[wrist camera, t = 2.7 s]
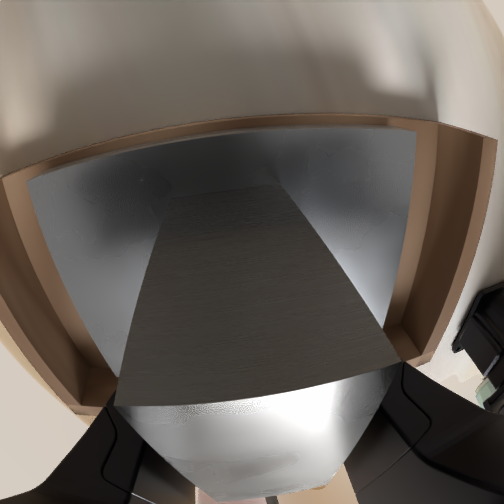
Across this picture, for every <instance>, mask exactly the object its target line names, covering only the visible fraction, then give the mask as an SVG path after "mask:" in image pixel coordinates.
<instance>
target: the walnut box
mask: <svg viewBox="0 0 504 504" xmlns="http://www.w3.org/2000/svg"><path fill="white" fill-rule="evenodd" d="M295 124H369V125H388V126H398V127H401V128H405V129H409V130H412V131H416V132H417V133H416V151H415V164H414V175H413V184H412V193H411V200H410V208H409V214H408V221H407V227H406V233H405V238H404V243H403V249H402V254H401V258H400V263H399V268H398V272H397V276H396V281H395V285H394V289H393V293H392V296H391V300H390V304H389V308H388V311H387V315H386V318H385V321H384V325H383V328H382V330H383V331H384V333H385V334H386V336H387V338H388V339H389V341H390V342H391V344H392V346H393V347H394V349H395V351H396V352H397V354H398V356H399V357H400V358H401V359H403V362H404V361H406V362H407V363H409V364H410V365H411V366H413V367H414V368H415V367H418V366H420V365H423V364H425V363H428V362H430V360H431V358H432V356H433V354H434V352H435V350H436V349H437V347H438V345H439V343H440V341H441V339H442V337H443V334H444V332H445V330H446V328H447V326H448V324H449V322H450V319H451V317H452V315H453V313H454V310H455V308H456V305H457V303H458V301H459V298H460V296H461V293H462V290H463V288H464V285H465V282H466V280H467V277H468V274H469V271H470V268H471V265H472V262H473V259H474V256H475V253H476V250H477V246H478V243H479V239H480V236H481V232H482V228H483V224H484V220H485V216H486V212H487V207H488V202H489V197H490V192H491V187H492V181H493V175H494V168H495V160H496V152H497V142H498V140H496V139H493V138H490V137H487V136H484V135H481V134H478V133H475V132H472V131H469V130H466V129H462V128H459V127H456V126H452V125H448V124H445V123H441V122H436V121H429V120H421V119H413V118H404V117H394V116H382V115H366V114H340V113H303V114H277V115H261V116H248V117H237V118H228V119H219V120H211V121H204V122H197V123H190V124H184V125H178V126H172V127H167V128H161V129H156V130H151V131H146V132H142V133H137V134H133V135H128V136H124V137H120V138H116V139H112V140H108V141H104V142H100V143H97V144H93V145H90V146H86V147H83V148H80V149H76V150H73V151H70V152H67V153H64V154H61V155H58V156H55V157H52V158H49V159H46V160H43V161H41V162H38V163H35V164H33V165H30V166H28V167H25V168H22V169H20V170H18V171H15V172H13V173H10V174H8V175H6V176H3V177H1V178H0V320H1V322H2V323H3V325H4V326H5V328H6V330H7V331H8V333H9V334H10V336H11V337H12V339H13V340H14V341H15V343H16V344H17V346H18V347H19V348H20V350H21V351H22V353H23V354H24V355H25V357H26V358H27V359H28V361H29V362H30V363H31V364H32V366H33V367H34V368H35V370H36V371H37V372H38V373H39V374H40V376H41V377H42V378H43V379H44V380H45V382H46V383H47V384H48V385H49V386H50V387H51V389H52V390H53V391H54V392H55V393H56V394H57V395H58V396H59V397H60V399H61V400H62V401H63V402H64V403H65V404H66V405H67V406H68V407H69V408H70V409H71V410H72V411H73V412H74V413H75V414H79V415H89V416H98V414H99V413H100V411H101V410H102V408H103V407H106V406H105V404H106V403H107V401H108V400H109V398H110V397H111V395H112V394H113V392H114V391H115V390H116V388H117V384H118V379H119V377H116V375H115V374H114V372H113V371H112V369H111V368H110V366H109V365H108V363H107V362H106V360H105V359H104V357H103V355H102V354H101V352H100V351H99V349H98V347H97V346H96V344H95V342H94V341H93V339H92V337H91V336H90V334H89V332H88V330H87V329H86V327H85V325H84V323H83V321H82V319H81V318H80V316H79V314H78V312H77V310H76V308H75V306H74V304H73V302H72V300H71V298H70V296H69V294H68V292H67V290H66V288H65V286H64V284H63V282H62V279H61V277H60V275H59V273H58V270H57V268H56V266H55V263H54V261H53V259H52V256H51V254H50V251H49V249H48V246H47V244H46V241H45V238H44V236H43V233H42V230H41V227H40V225H39V222H38V219H37V216H36V213H35V210H34V206H33V203H32V200H31V197H30V193H29V190H28V186H27V182H26V181H27V180H29V179H31V178H32V177H34V176H36V175H37V174H39V173H41V172H42V171H44V170H47V169H50V168H53V167H56V166H59V165H62V164H65V163H69V162H72V161H75V160H79V159H82V158H86V157H89V156H93V155H96V154H100V153H104V152H108V151H112V150H116V149H120V148H124V147H129V146H133V145H138V144H142V143H147V142H152V141H157V140H163V139H168V138H174V137H179V136H186V135H192V134H199V133H206V132H213V131H221V130H230V129H239V128H250V127H261V126H276V125H295Z"/></svg>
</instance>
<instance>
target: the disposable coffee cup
mask: <svg viewBox="0 0 504 504" xmlns="http://www.w3.org/2000/svg"><path fill="white" fill-rule="evenodd" d="M495 391H496V390H495V388H494V387H493V385H492V384H491V382H490V381H489V379H488V378H486V379H485V380H484V381H483V382H482V383H481V384H480V385H479V386H478V388H477V389H476V391H475V392H476V394H477V395H476V398H477V400H478V403H479V405H480V407H481V408H483V409H485V408H484V406H483V402H484V401H485V400H486V399H487V398H488V397H490V396H491V395H492V394H493V393H494V392H495Z"/></svg>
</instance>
